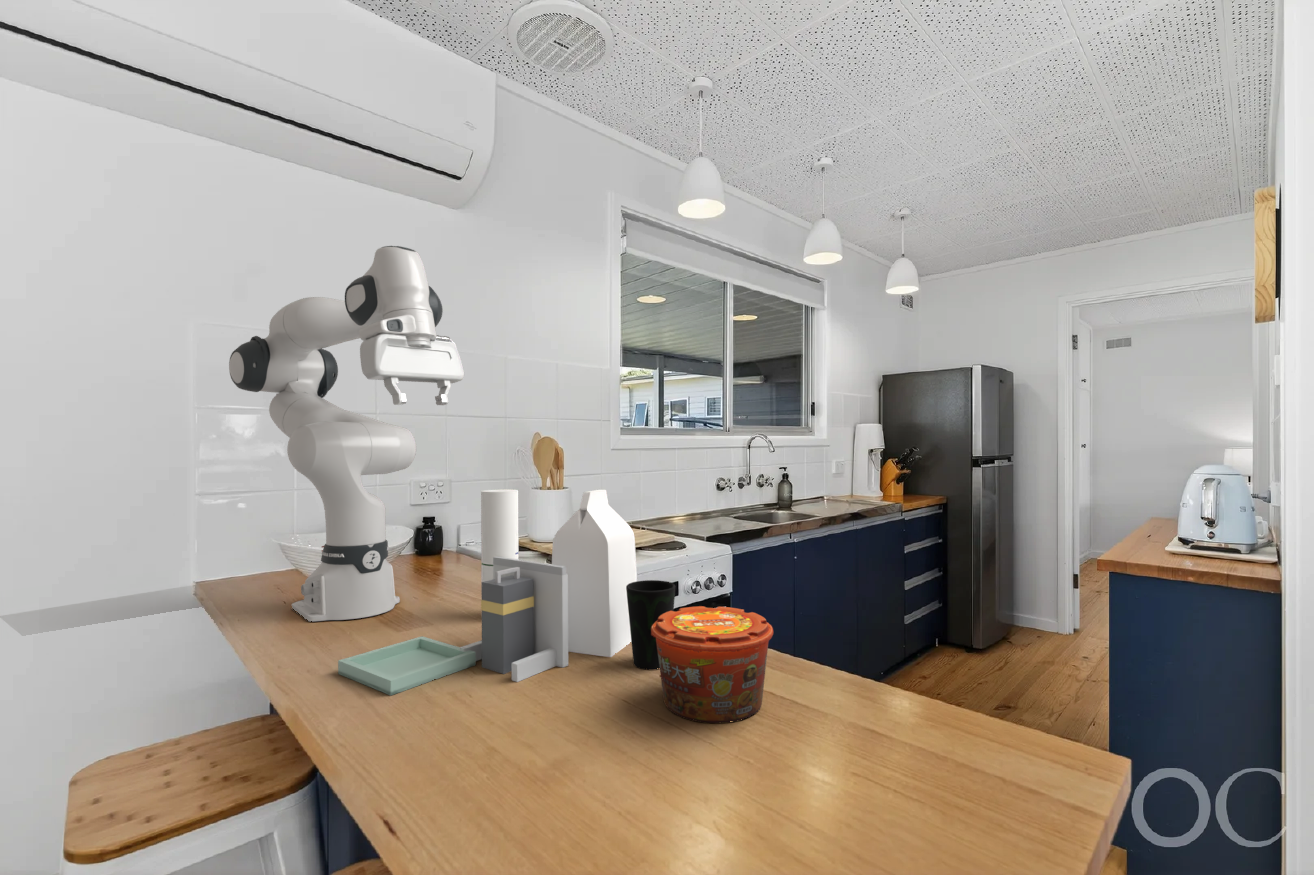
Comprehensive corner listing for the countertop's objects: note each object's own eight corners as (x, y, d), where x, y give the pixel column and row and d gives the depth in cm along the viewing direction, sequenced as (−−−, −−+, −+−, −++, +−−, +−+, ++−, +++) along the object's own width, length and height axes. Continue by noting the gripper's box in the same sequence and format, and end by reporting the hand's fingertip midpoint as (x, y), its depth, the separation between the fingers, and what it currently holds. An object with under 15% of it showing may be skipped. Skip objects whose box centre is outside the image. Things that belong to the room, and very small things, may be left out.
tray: (338, 673, 91) (338, 660, 91) (422, 648, 102) (422, 636, 102) (390, 695, 83) (390, 680, 83) (475, 665, 94) (475, 652, 94)
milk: (610, 657, 97) (609, 494, 98) (548, 648, 102) (547, 492, 102) (640, 635, 109) (639, 489, 109) (583, 628, 113) (582, 487, 113)
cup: (652, 651, 100) (651, 577, 100) (686, 662, 95) (685, 585, 95) (616, 663, 95) (615, 585, 95) (650, 676, 89) (650, 594, 89)
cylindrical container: (523, 612, 124) (522, 489, 125) (511, 622, 117) (511, 491, 117) (489, 611, 125) (489, 489, 125) (475, 621, 118) (475, 491, 118)
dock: (454, 661, 96) (453, 564, 96) (499, 646, 103) (498, 556, 103) (523, 684, 87) (523, 576, 87) (568, 665, 94) (567, 566, 94)
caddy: (481, 667, 93) (480, 571, 94) (512, 655, 98) (511, 564, 99) (503, 674, 90) (503, 574, 91) (534, 662, 95) (533, 567, 96)
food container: (687, 741, 70) (686, 647, 70) (632, 691, 84) (632, 612, 84) (800, 714, 76) (799, 628, 76) (731, 672, 91) (730, 599, 91)
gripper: (443, 341, 124) (454, 408, 123) (350, 329, 106) (361, 407, 105) (465, 333, 121) (476, 401, 120) (372, 319, 103) (385, 400, 102)
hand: (422, 404), depth 113 cm, fingers open, 8 cm apart
